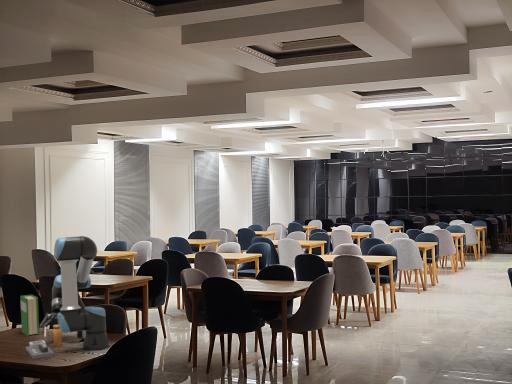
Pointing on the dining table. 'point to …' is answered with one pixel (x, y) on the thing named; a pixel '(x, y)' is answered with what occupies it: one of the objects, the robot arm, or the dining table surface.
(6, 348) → the dining table surface
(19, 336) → the dining table surface
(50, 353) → the breaker board
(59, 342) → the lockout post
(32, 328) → the hardback book
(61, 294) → the robot arm
